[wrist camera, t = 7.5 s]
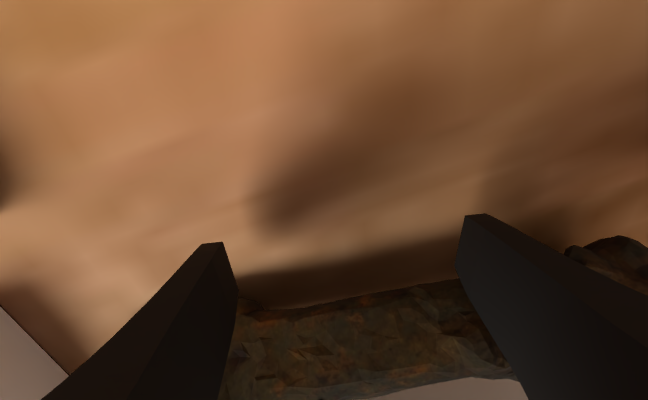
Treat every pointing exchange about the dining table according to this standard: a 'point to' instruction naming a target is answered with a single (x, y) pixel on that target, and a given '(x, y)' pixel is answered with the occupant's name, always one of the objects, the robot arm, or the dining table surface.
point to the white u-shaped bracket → (45, 374)
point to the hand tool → (386, 337)
